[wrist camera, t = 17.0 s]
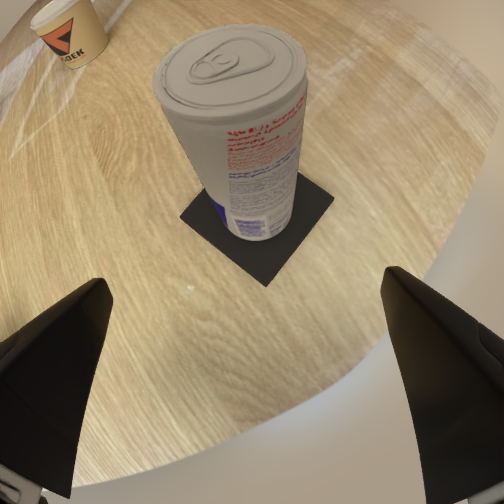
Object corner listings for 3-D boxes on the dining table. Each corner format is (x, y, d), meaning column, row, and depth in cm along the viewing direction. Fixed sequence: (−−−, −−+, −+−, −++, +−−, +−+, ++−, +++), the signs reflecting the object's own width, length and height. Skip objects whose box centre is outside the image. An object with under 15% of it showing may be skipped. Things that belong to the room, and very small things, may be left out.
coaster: (333, 200, 23) (335, 197, 23) (266, 287, 22) (265, 286, 22) (249, 143, 25) (248, 140, 24) (181, 219, 24) (179, 216, 23)
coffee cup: (54, 77, 31) (18, 32, 20) (82, 40, 33) (54, -4, 21) (94, 68, 30) (57, 12, 19) (122, 30, 32) (96, -22, 20)
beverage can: (301, 188, 23) (325, 32, 8) (278, 252, 22) (282, 134, 7) (236, 168, 24) (194, 16, 9) (210, 229, 23) (121, 105, 8)
